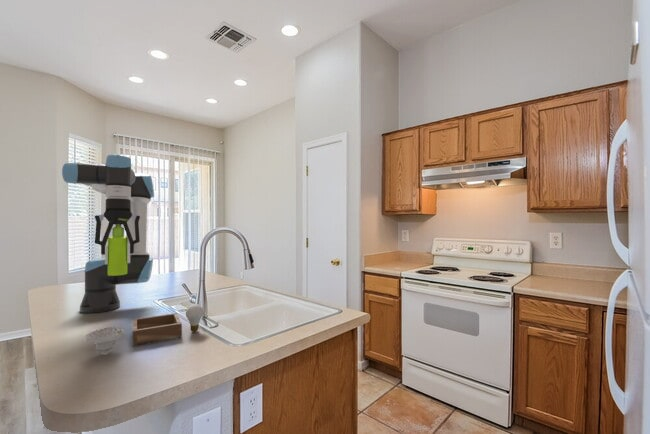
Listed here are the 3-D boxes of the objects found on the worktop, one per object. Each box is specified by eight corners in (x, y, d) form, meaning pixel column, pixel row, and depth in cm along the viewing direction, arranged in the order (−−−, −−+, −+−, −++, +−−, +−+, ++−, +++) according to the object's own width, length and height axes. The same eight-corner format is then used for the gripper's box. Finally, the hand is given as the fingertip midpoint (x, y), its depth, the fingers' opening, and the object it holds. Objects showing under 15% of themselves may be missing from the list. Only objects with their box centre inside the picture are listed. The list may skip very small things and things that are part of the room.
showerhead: (111, 335, 91) (78, 335, 91) (111, 360, 91) (77, 360, 91) (132, 324, 100) (102, 324, 101) (132, 347, 100) (101, 347, 101)
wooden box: (132, 333, 113) (132, 319, 113) (176, 326, 121) (176, 313, 121) (132, 346, 101) (132, 331, 101) (181, 338, 108) (181, 323, 108)
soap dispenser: (119, 276, 108) (120, 218, 109) (103, 275, 110) (104, 218, 110) (133, 273, 114) (134, 218, 114) (117, 272, 116) (118, 218, 116)
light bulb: (182, 332, 114) (183, 304, 114) (198, 327, 118) (198, 301, 119) (190, 336, 110) (190, 307, 110) (206, 331, 114) (206, 304, 115)
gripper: (83, 196, 104) (82, 266, 104) (148, 198, 114) (148, 262, 113) (87, 198, 111) (86, 264, 110) (148, 200, 120) (148, 260, 120)
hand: (117, 263), depth 112 cm, fingers closed on soap dispenser, 6 cm apart
